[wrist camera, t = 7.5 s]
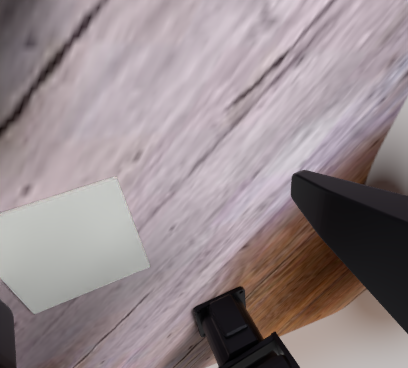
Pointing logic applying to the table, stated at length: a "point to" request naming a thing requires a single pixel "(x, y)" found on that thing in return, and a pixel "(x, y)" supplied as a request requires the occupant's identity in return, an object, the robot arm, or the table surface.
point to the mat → (69, 245)
